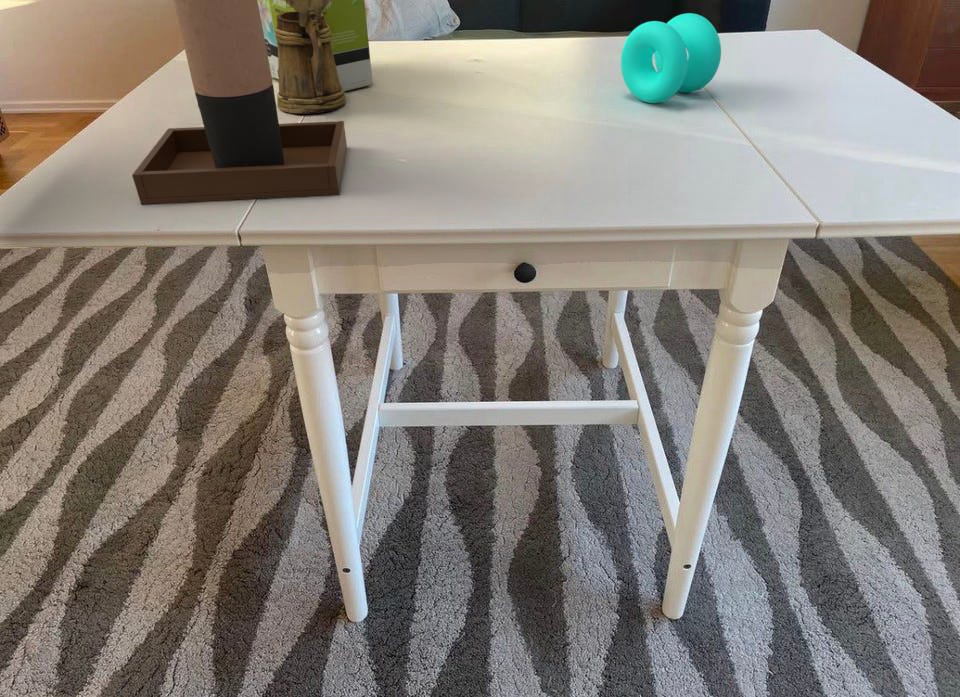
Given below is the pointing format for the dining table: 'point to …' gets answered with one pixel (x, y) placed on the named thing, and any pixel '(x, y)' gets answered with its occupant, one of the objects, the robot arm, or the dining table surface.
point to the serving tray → (193, 177)
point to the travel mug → (232, 80)
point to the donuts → (670, 57)
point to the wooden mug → (306, 60)
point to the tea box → (346, 44)
